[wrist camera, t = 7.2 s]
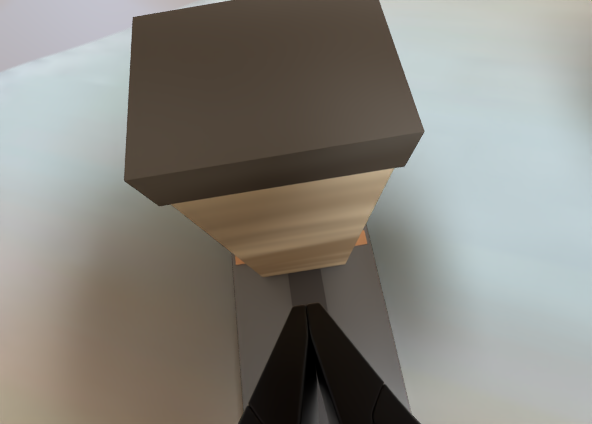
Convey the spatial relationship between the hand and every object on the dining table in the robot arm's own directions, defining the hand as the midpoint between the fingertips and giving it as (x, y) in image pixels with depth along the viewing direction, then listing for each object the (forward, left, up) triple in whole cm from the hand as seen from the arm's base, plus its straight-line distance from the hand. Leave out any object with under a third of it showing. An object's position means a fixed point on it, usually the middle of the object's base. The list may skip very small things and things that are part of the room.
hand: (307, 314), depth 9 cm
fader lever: (+3, +3, -5) cm, 6 cm away
